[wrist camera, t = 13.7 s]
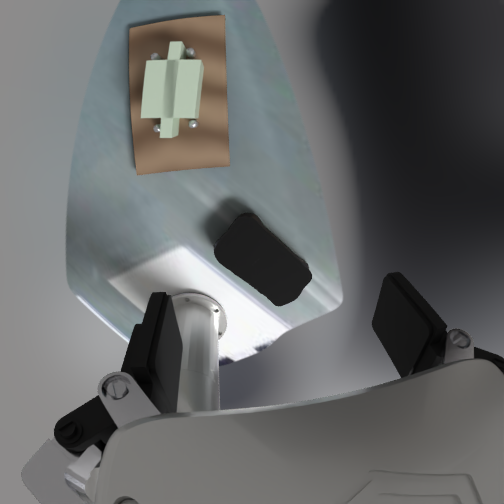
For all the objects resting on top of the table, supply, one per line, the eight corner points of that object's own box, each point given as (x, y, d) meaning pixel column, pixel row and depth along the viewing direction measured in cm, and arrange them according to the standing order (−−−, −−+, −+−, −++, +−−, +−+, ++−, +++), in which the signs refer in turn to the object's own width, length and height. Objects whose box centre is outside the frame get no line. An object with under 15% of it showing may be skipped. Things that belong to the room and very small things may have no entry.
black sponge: (207, 242, 43) (206, 254, 40) (245, 204, 41) (247, 212, 38) (278, 298, 50) (281, 311, 46) (313, 267, 47) (320, 279, 44)
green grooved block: (158, 51, 28) (149, 42, 23) (206, 51, 29) (203, 41, 24) (150, 135, 33) (139, 137, 29) (196, 135, 34) (192, 138, 30)
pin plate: (229, 164, 38) (230, 170, 34) (139, 173, 37) (130, 180, 33) (224, 18, 28) (225, 7, 24) (132, 31, 27) (122, 22, 23)
